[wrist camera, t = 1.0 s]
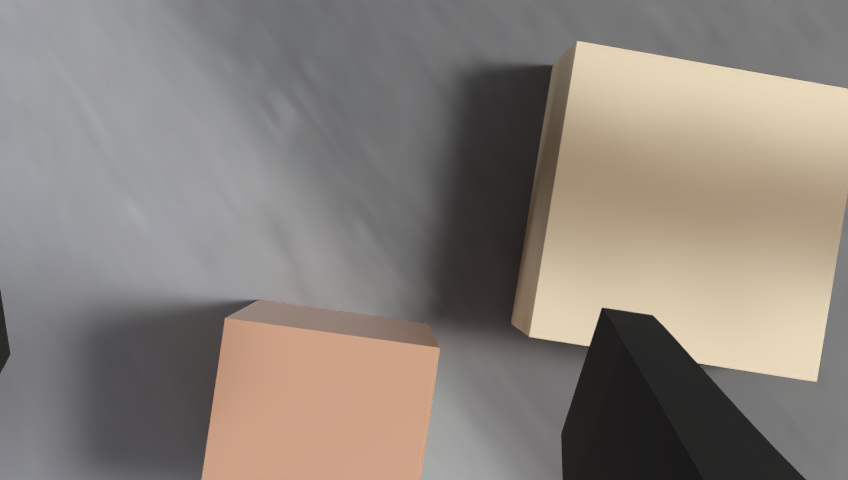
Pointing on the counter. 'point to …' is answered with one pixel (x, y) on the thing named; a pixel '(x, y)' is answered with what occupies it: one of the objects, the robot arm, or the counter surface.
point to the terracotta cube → (320, 396)
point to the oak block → (687, 207)
